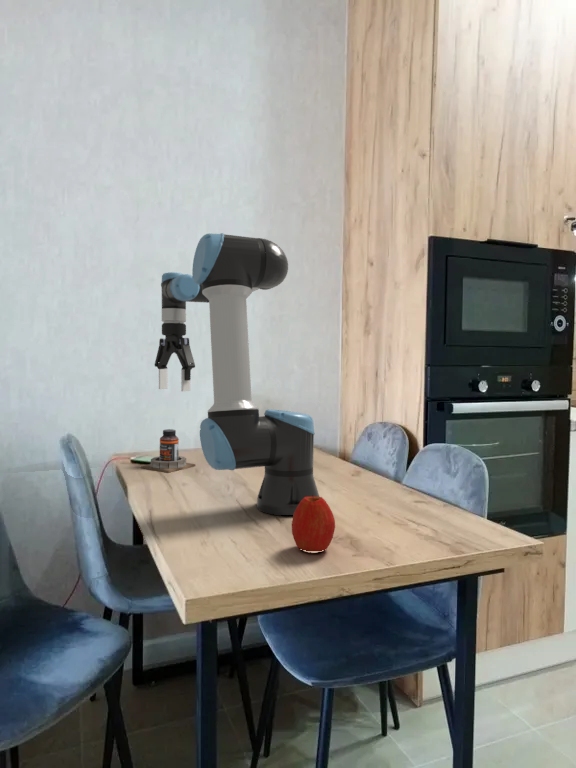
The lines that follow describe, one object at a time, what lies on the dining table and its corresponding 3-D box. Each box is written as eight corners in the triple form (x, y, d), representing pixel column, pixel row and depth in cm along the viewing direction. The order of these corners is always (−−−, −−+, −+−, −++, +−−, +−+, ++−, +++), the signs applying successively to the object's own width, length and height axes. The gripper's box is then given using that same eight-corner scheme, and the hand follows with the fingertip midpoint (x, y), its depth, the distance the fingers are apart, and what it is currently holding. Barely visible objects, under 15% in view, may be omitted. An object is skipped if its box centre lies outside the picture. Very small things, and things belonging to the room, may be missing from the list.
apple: (332, 542, 107) (333, 488, 106) (337, 558, 98) (338, 499, 98) (290, 542, 106) (291, 488, 106) (292, 558, 98) (292, 499, 98)
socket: (168, 472, 166) (168, 464, 166) (141, 467, 172) (141, 459, 172) (195, 466, 176) (195, 458, 176) (168, 461, 182) (168, 454, 182)
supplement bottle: (156, 466, 171) (156, 431, 171) (163, 462, 177) (163, 428, 177) (175, 467, 171) (175, 431, 170) (181, 463, 177) (181, 428, 176)
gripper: (206, 321, 165) (206, 391, 166) (164, 324, 183) (164, 387, 184) (185, 320, 160) (185, 392, 161) (143, 323, 178) (144, 388, 179)
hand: (174, 390), depth 172 cm, fingers open, 13 cm apart
